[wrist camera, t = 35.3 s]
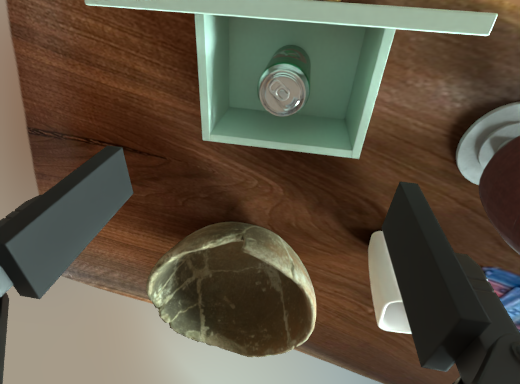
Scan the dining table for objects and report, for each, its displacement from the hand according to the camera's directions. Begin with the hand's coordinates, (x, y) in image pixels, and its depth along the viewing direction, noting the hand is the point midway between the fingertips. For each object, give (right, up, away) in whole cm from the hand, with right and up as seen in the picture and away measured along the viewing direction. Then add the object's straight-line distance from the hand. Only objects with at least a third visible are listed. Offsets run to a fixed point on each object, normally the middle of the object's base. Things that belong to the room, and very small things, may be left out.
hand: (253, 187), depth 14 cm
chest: (+4, +16, +23) cm, 29 cm away
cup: (+23, -9, +37) cm, 45 cm away
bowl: (-2, -10, +43) cm, 45 cm away
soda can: (+4, +16, +23) cm, 28 cm away
